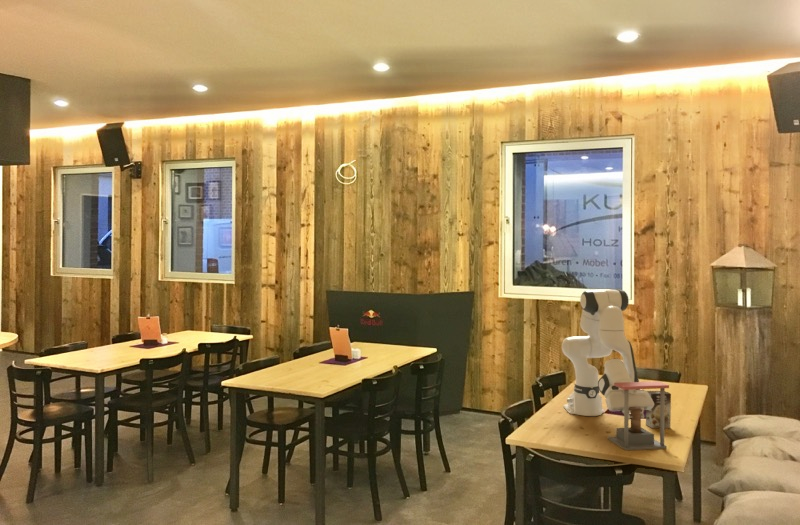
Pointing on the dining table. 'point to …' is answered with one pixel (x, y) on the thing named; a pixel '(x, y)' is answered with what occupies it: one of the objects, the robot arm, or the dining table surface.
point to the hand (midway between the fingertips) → (636, 418)
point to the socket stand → (644, 438)
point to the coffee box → (658, 410)
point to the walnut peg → (636, 420)
